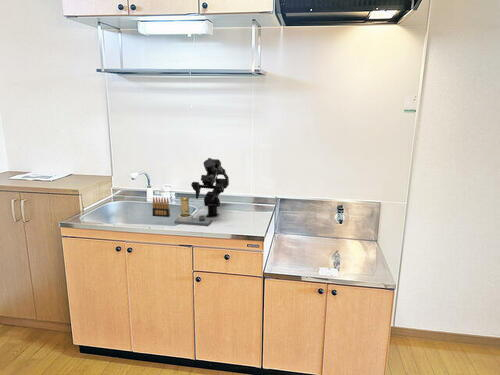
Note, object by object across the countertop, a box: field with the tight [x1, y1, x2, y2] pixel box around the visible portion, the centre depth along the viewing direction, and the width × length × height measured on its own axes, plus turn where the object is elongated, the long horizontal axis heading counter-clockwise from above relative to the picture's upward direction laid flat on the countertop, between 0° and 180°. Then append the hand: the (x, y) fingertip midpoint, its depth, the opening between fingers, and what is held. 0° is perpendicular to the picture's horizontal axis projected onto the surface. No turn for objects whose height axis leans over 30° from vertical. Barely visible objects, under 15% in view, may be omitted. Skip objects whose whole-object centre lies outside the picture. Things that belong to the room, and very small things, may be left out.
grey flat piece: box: [173, 212, 213, 227], centre depth 215 cm, size 9×20×4 cm, turn 80°
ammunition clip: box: [152, 196, 171, 218], centre depth 225 cm, size 11×2×12 cm, turn 80°
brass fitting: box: [180, 196, 190, 217], centre depth 214 cm, size 4×4×13 cm
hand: (204, 199), depth 214 cm, fingers open, 9 cm apart
